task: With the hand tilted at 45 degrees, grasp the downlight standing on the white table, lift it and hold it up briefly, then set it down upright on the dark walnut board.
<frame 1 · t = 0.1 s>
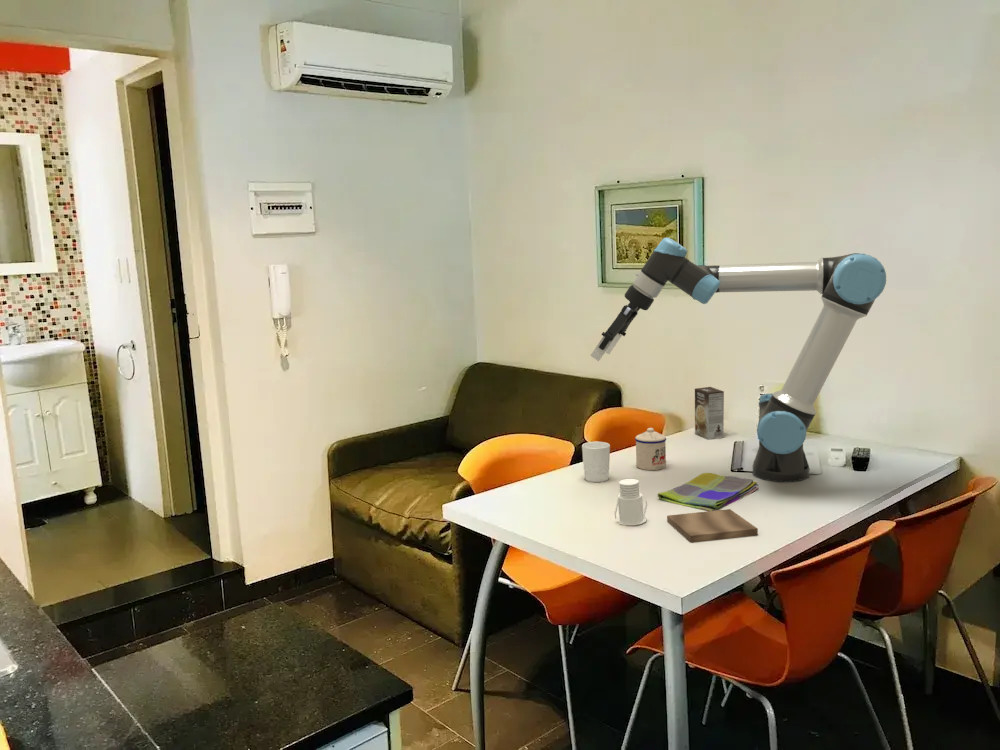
hand: (599, 355, 222), 36 cm above the table, tool tilted 35°, fingers open, 13 cm apart
white cup: (596, 479, 229), on the table
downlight: (631, 521, 193), on the table
coffee box: (709, 436, 272), on the table
walnut board: (711, 528, 186), on the table
teacup with lid: (653, 466, 240), on the table
dish towel: (708, 496, 211), on the table
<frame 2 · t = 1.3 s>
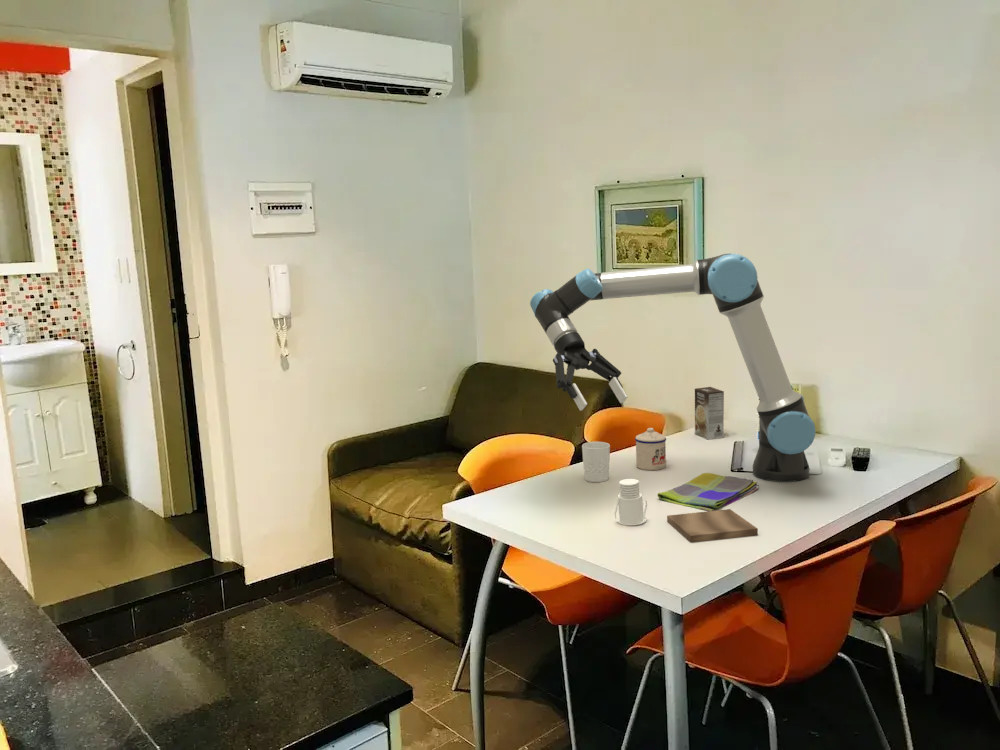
hand: (604, 403, 202), 26 cm above the table, tool tilted 45°, fingers open, 13 cm apart
nothing on the table moved.
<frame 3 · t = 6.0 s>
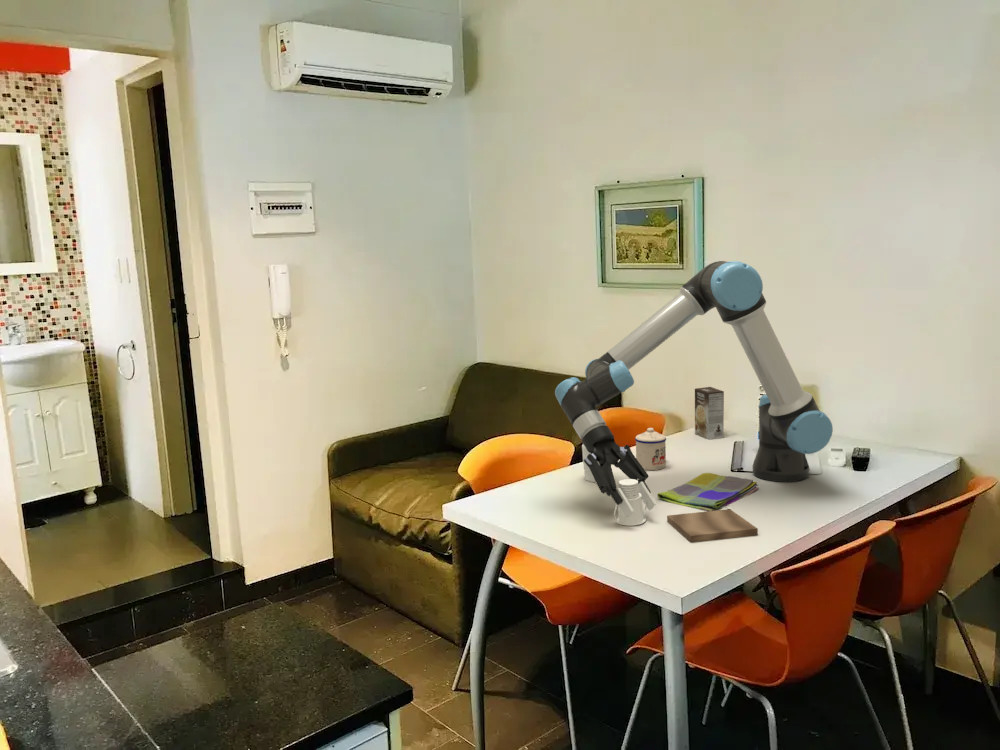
hand: (641, 510, 190), 3 cm above the table, tool tilted 45°, fingers closed on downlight, 7 cm apart
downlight: (630, 521, 193), on the table, touching gripper
everything else where it was.
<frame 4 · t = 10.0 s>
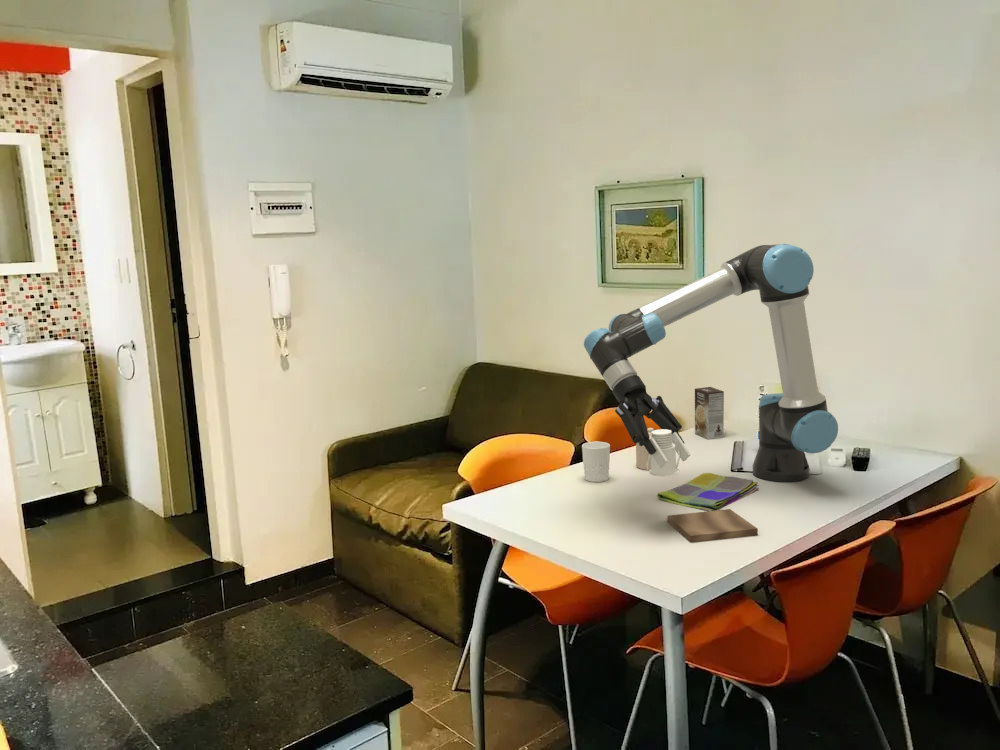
hand: (675, 460, 184), 16 cm above the table, tool tilted 45°, fingers closed on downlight, 7 cm apart
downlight: (663, 473, 187), point 13 cm above the table, touching gripper
everything else where it was.
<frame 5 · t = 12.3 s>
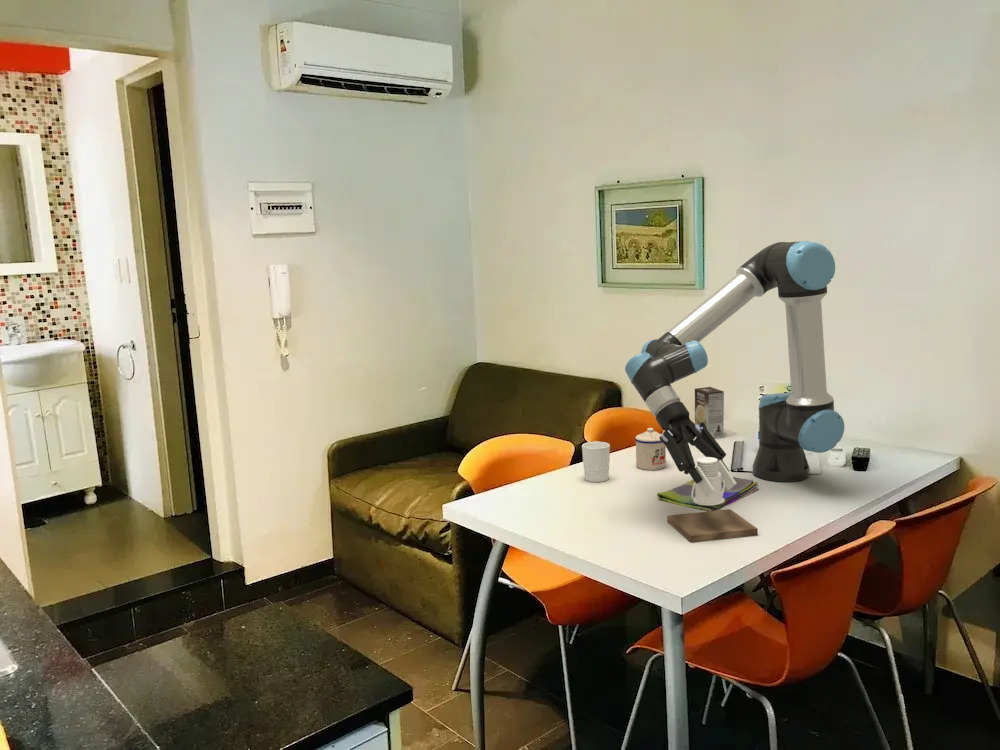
hand: (721, 489, 181), 10 cm above the table, tool tilted 45°, fingers closed on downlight, 7 cm apart
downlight: (708, 501, 185), point 6 cm above the table, touching gripper
everything else where it was.
when the fingers open (6 cm above the table, at t = 14.0 s): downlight drops 1 cm, resting on walnut board.
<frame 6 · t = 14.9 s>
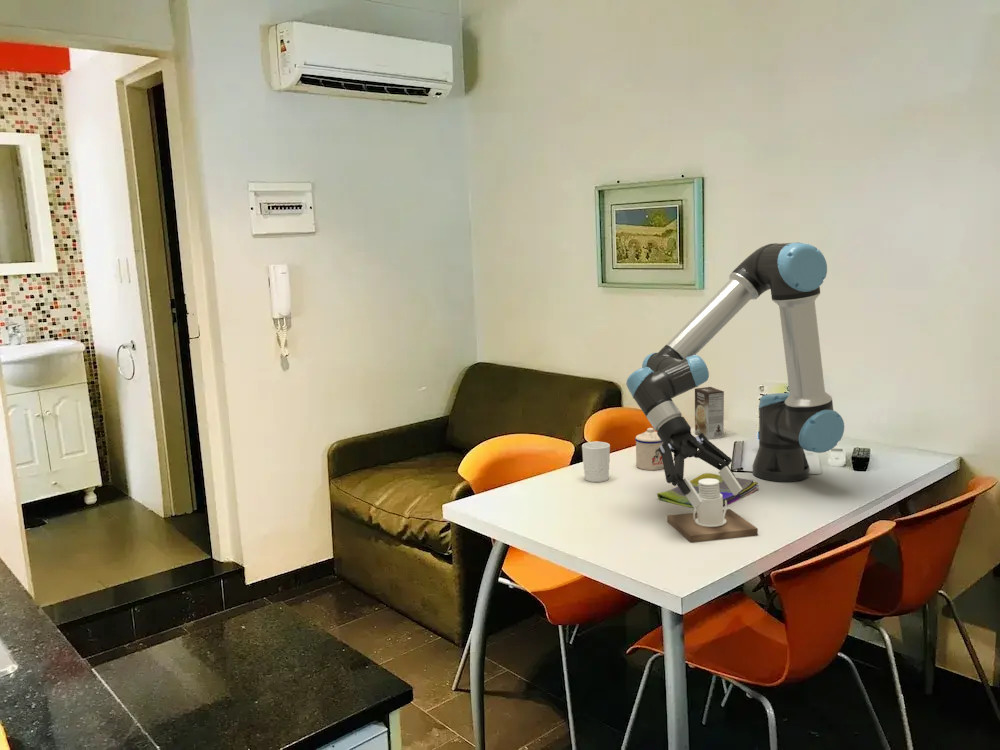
hand: (718, 498, 183), 8 cm above the table, tool tilted 45°, fingers open, 13 cm apart
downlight: (710, 523, 186), point 1 cm above the table, touching walnut board
everything else where it was.
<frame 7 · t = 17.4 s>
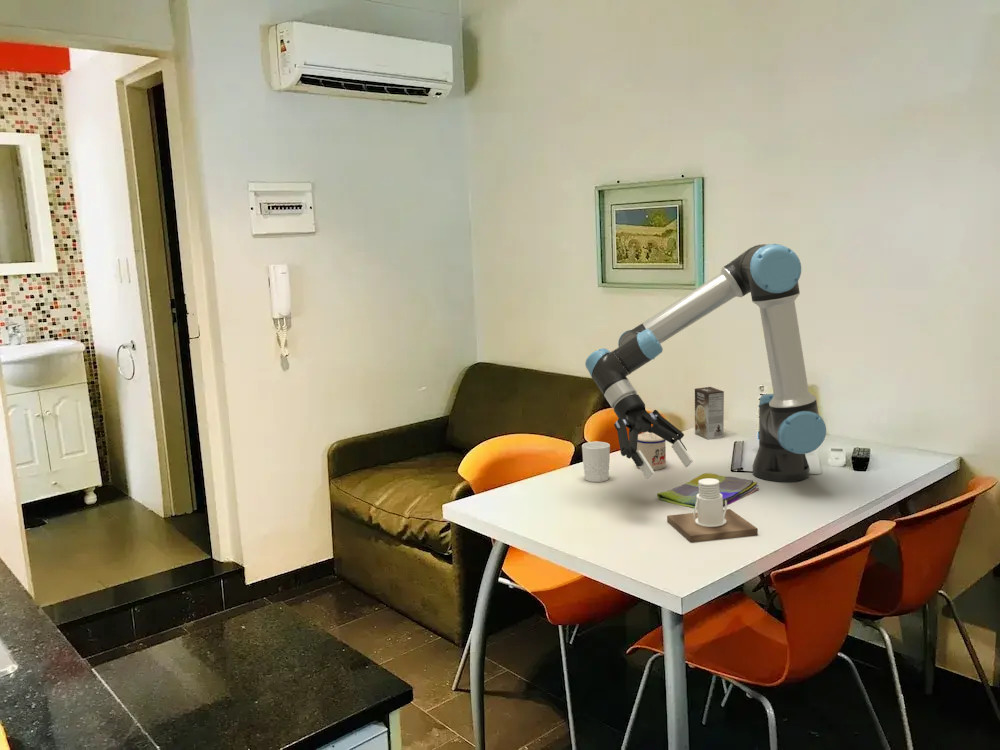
hand: (670, 470, 195), 11 cm above the table, tool tilted 45°, fingers open, 13 cm apart
nothing on the table moved.
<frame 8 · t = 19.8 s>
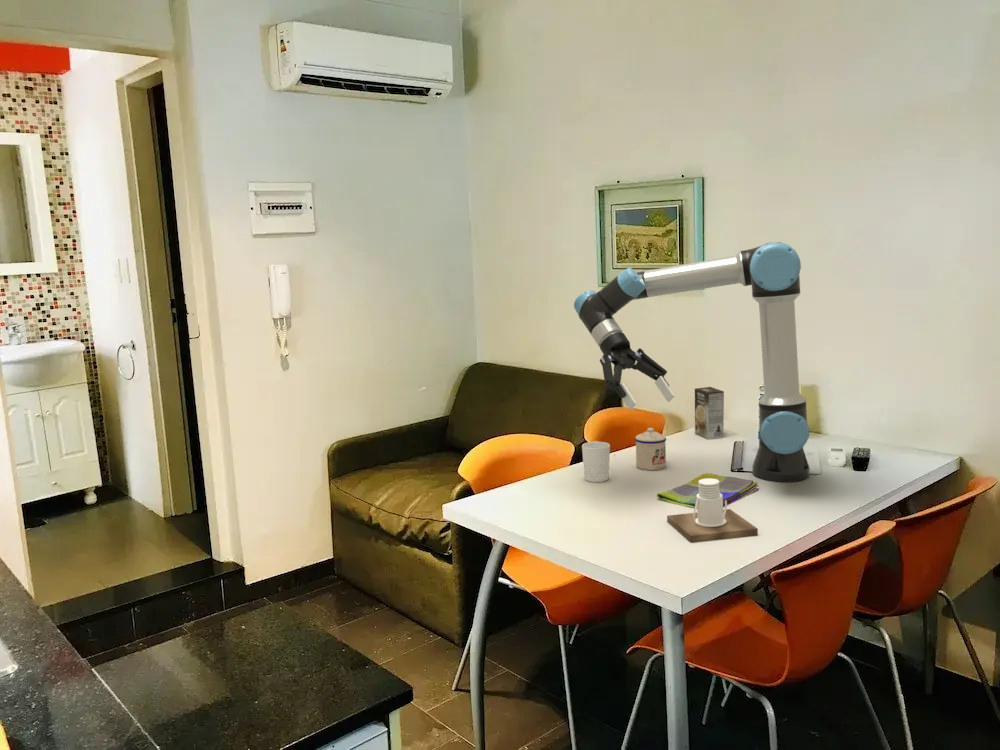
hand: (652, 402, 204), 26 cm above the table, tool tilted 45°, fingers open, 13 cm apart
nothing on the table moved.
at the end: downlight inside the target area on the walnut board (0.4 cm from its centre), point 1.3 cm above the walnut board's base; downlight tilted 0°; the gripper is holding nothing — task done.
